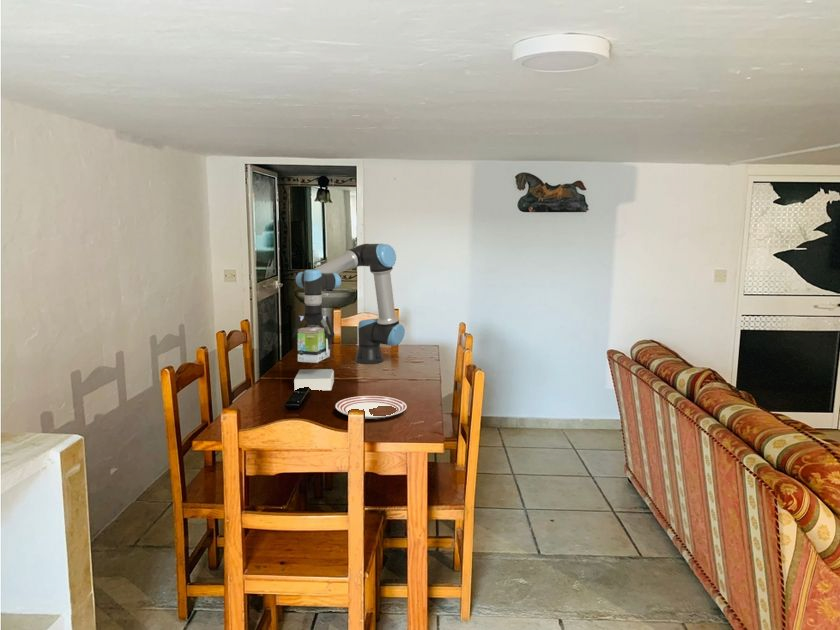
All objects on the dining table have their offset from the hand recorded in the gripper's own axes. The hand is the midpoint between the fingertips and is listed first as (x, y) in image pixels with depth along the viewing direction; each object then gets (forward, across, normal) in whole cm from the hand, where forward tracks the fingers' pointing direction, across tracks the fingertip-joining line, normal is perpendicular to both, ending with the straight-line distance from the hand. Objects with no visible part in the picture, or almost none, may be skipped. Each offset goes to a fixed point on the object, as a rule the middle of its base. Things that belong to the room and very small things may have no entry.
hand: (314, 352), depth 258 cm
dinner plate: (+16, +26, -41) cm, 51 cm away
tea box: (+3, 0, 0) cm, 3 cm away
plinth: (+15, 0, 0) cm, 15 cm away
